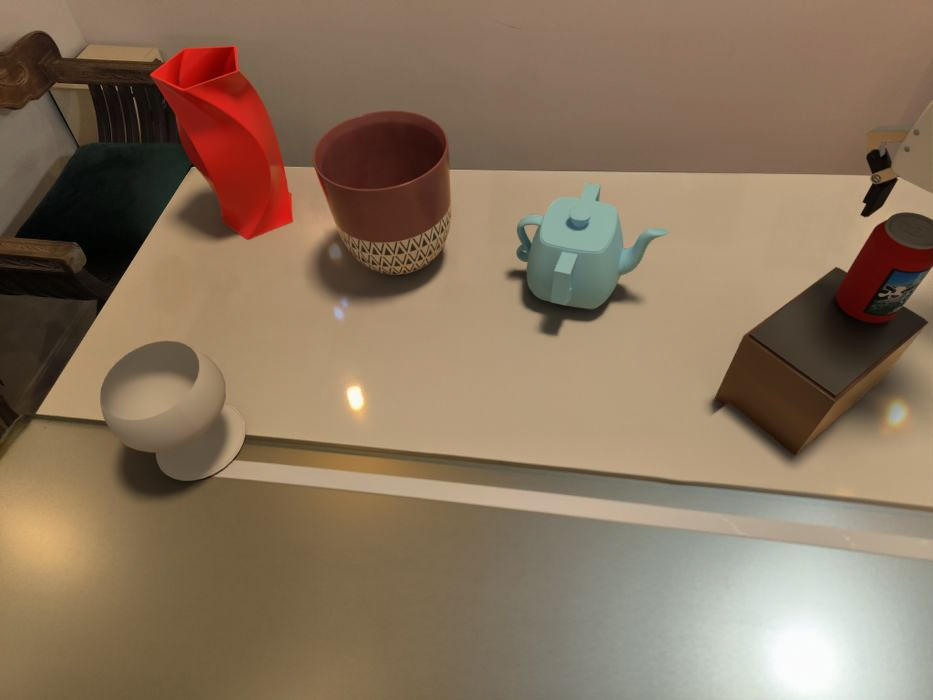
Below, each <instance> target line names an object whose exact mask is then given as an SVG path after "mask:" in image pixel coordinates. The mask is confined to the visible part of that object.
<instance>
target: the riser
mask: <svg viewBox="0 0 933 700" xmlns="http://www.w3.org/2000/svg"><path fill="white" fill-rule="evenodd" d="M847 272H848V271H846V270H844V269H842V268H841V267H837V266H834V268H832V269H831V270H830V271H828V272H827V273H825V274H824V275H823V276H822V277H820V278H819V279H817V280H816V281H815V282H813V283H812V284H810V286H808V287H807V288H805V289H804V290H803V291H802V292H800V293H799V294H798V295H795V297H794V298H793V297H792V299H791V300H789V301H788V302H787V303H785V304H784V305H782V306H781V307H780V308H778V309H777V310H775V312H773V313H772V314H770V315H769V316H768V317H766V318H765V319H764V320H762V321H761V322H759V323H758V324H757V325H756V326H754V327H753V328H751V329H750V330H749V331H747V332H746V333H745V334H744V335H743V336H742V338H741V340H740V342H739V344H738V346H737V349H736V351H735V353H734V354H733V357H732V360H731V362H730V363H729V366H728V368H727V370H726V372H725V374H724V377H723V379H722V381H721V383H720V384H719V387H718V388H717V392H716V394H715V396H714V400H715V399H716V400H715V401H716V402H718V403H719V404H720V403H721V404H722V405H721V404H720V405H721V406H722V407H725V406H726V405H728V404H730V405H731V406H732V407H734V408H735V409H736V410H737V411H739V412H740V413H741V414H742V415H743V416H744V417H746V418H747V419H749V421H751V422H752V423H753V424H754V425H756V426H757V427H758V428H759V429H760V430H762V431H763V432H765V433H766V434H767V436H770V438H772V439H773V440H774V441H776V442H777V443H778V444H779V445H780V446H782V447H783V448H784V449H785V450H787V451H788V452H789V453H790V454H792V455H793V456H794V457H795V456H797V455H798V454H799V453H800V452H801V451H803V450H804V449H805V448H806V447H807V446H808V445H809V444H811V443H812V442H813V441H814V440H815V439H816V438H817V437H819V436H820V435H821V434H822V433H823V432H824V431H825V430H826V429H827V428H829V427H830V426H831V425H832V424H833V423H834V422H836V421H837V420H838V419H839V418H840V417H841V416H842V415H844V414H845V413H846V412H847V411H848V410H850V408H852V407H853V406H854V405H855V404H856V403H857V402H858V401H860V400H861V399H862V398H863V397H864V396H866V395H867V393H869V392H870V391H871V390H872V389H873V388H874V387H876V386H877V385H878V384H879V383H881V381H882V380H883V379H884V377H885V376H886V375H887V374H888V373H889V371H890V370H891V369H892V368H893V366H894V365H895V364H896V363H897V362H898V360H899V359H900V358H901V357H902V355H903V354H904V353H905V352H906V351H907V349H908V348H909V347H910V346H911V344H913V342H914V341H915V340H916V339H917V337H918V336H919V335H920V334H921V333H922V331H923V330H924V329H925V328H926V326H927V325H929V323H930V322H929V321H928V320H927V319H926V318H924V317H923V316H921V315H919V314H918V313H916V312H914V311H913V310H911V309H909V308H907V307H906V306H904V305H903V307H902V308H901V309H900V310H899V312H898V313H897V314H896V316H895V317H894V318H892V319H891V320H889V321H886V322H881V323H871V322H865V321H861V320H859V319H856V318H854V317H852V316H850V315H849V314H847V313H846V312H845V311H844V310H843V309H842V308H841V307H840V306H839V304H838V302H837V300H836V291H837V289H838V288H839V286H840V284H841V282H842V281H843V279H844V277H845V275H846V274H847Z"/></svg>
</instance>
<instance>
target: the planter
mask: <svg viewBox="0 0 933 700" xmlns="http://www.w3.org/2000/svg"><path fill="white" fill-rule="evenodd" d="M312 163H313V164H312V165H313V168H314V170H315V173H316V176H317V179H318V181H319V185H320V187H321V189H322V192H323V195H324V197H325V200H326V203H327V205H328V208H329V211H330V213H331V216H332V218H333V222H334V224H335V227H336V229H337V231H338V234H339V236H340V238H341V240H342V243H344V245H345V247H346V249H347V250H348V251H349V252H350V253H351V255H352V256H353V257H354V259H356V260H357V261H358V262H359V263H360V264H362V265H363V266H364V267H366V268H367V269H370V270H372V271H375V272H376V273H380V274H383V275H385V274H386V275H391V276H392V275H394V276H395V275H397V276H399V275H407V274H411V273H414V272H416V271H418V270H421V269H423V268H424V267H426V266H427V265H429V264H430V263H431V262H433V261H434V259H435V258H437V256H438V255H439V254H440V253H441V251H442V249H443V248H444V246H445V244H446V242H447V239H448V237H449V233H450V228H451V223H452V195H451V194H452V189H451V169H450V167H451V164H450V145H449V138H448V134H447V133H446V131H445V130H444V128H443V127H442V126H441V125H440V124H439V122H438V123H437V122H436V121H435V120H434V119H432V118H430V117H428V116H426V115H423V114H420V113H417V112H412V111H406V110H381V111H371V112H368V113H364V114H359V115H357V116H354V117H351V118H348V119H346V120H344V121H342V122H340V123H338V124H336V125H335V126H333V127H332V128H330V129H329V130H328V131H326V132H325V133H324V134H323V135H322V137H320V139H319V140H318V141H317V143H316V145H315V147H314V149H313V152H312Z"/></svg>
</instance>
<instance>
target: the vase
mask: <svg viewBox="0 0 933 700" xmlns="http://www.w3.org/2000/svg"><path fill="white" fill-rule="evenodd" d="M149 76H150V77H151V79H152V80H153V82H154V83H155V85H156V86H157V87H158V90H159V91H160V92H161V94H162V96H163V97H164V99H165V100H166V102H167V103H168V105H169V107H170V108H171V110H172V111H173V113H174V115H175V122H176V127H177V132H178V136H179V139H180V143H181V146H182V148H183V150H184V152H185V154H186V156H187V157H188V159H189V161H190V162H191V164H192V165H193V166H194V167H195V169H196V170H197V171H198V172H199V173H200V175H201V176H202V177H203V178H204V180H205V181H206V182H207V184H208V185H209V186H210V188H211V190H212V191H213V193H214V195H215V196H216V198H217V201H218V203H219V206H220V212H221V217H220V222H221V223H223V224H224V225H226V226H227V227H229V228H230V229H232V230H233V231H234V232H236V233H237V234H238V235H239V236H241V237H243V238H244V239H245V240H250V239H253V238H255V237H257V236H260V235H263V234H265V233H268V232H271V231H273V230H275V229H278V228H281V227H283V226H287V225H288V224H290V223H293V221H294V219H293V218H294V217H293V199H292V193H291V192H290V191H289V184H288V179H287V174H286V169H285V164H284V160H283V156H282V152H281V147H280V143H279V141H278V137H277V134H276V131H275V127H274V125H273V122H272V120H271V117H270V114H269V113H268V110H267V108H266V106H265V104H264V102H263V100H262V98H261V96H260V94H259V93H258V92H257V89H256V88H255V87H254V85H253V84H252V83H251V81H250V80H249V79H248V78H247V77H246V75H244V73H243V72H242V70H241V68H240V66H239V62H238V46H237V45H228V46H227V45H226V46H224V45H223V46H222V45H221V46H203V47H202V46H199V47H184V48H183V49H181V50H180V51H179V52H177V53H176V54H175V55H174V56H172V57H171V58H169V59H167V60H166V62H164V63H163V64H162V65H160V66H159V67H158V68H157V69H155V70H154V71H152V72H151V73H150V74H149Z"/></svg>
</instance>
